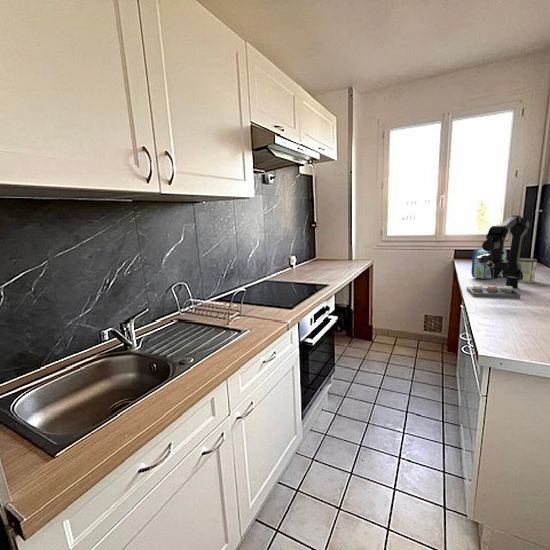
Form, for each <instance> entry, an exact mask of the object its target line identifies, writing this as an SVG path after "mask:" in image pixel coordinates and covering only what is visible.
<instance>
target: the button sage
mask: <svg viewBox="0 0 550 550" xmlns="http://www.w3.org/2000/svg"><path fill="white" fill-rule="evenodd" d="M502 288H503V292H512V290H513V291H514V289H513V287H511V286H506V285H503V286H502Z"/></svg>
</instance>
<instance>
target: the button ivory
mask: <svg viewBox="0 0 550 550" xmlns="http://www.w3.org/2000/svg"><path fill="white" fill-rule="evenodd" d="M472 287H473V288H474V290H473V291H481V289H482V287H483V285H480V284H473V285H472Z"/></svg>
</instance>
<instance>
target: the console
mask: <svg viewBox="0 0 550 550" xmlns="http://www.w3.org/2000/svg"><path fill="white" fill-rule="evenodd" d="M473 290H474V288H473V286H466V292H468V293H469V294H470V295H471V297H473V298H492V299H494V298H496V299H515V300H516V299H518V300H520V299H521V297H522V296H521V294H520V293H518V292H517V291H515V290H514V289H513V290H512V292H503V287H498V288H497V290H496V292H488V287H487V286H486V287H482V289H481V291H473Z"/></svg>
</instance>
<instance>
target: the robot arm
mask: <svg viewBox="0 0 550 550" xmlns="http://www.w3.org/2000/svg"><path fill="white" fill-rule="evenodd" d="M530 226H531V224H530V221H529V220H528V219H527V218H525V217H522V215H519V214H518V215H517V214H516V215H512V214H511V215H509V216H508V218H506V219H505V220H504V221H502V222H500V223H496V224H493V225H492V226H490V228H489V230H488V232H487V234H486V237H485V239H486V240H485V241H483V242H482V244H481V249H482V248H483V249H484V250H485V251H488V254H484V255H481V256H477V260H478V262H479V263H486V262H488V263H487V264H486V265H487V266H488V267H489V269H490V273H491V277H493V278H492V279H494V280H496V279H497V278H498V275H499V274H500V272H501V271H502V278H503V279H505V281H506V282H505V286H511V287H513V290H514V289H515V290H517V289H518V287H519V280H523V276H524V275H523V272H522V270H521V265H520V263H519V258H521V257H520V256H521V251H522V250H521V249H522V245H523V244H522V243H523V238H524V236H525V235H526V234H527V233H528V229H530ZM509 232H510V234H511V235H512V238H511V243H510V250H509V257H508V261H506V262H505V261H504V260H503V259H502V257H503V254H504V253H505V252H503V248H504V249H505V247H504V246H505V241H506V238H507V236H508V234H509Z"/></svg>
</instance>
